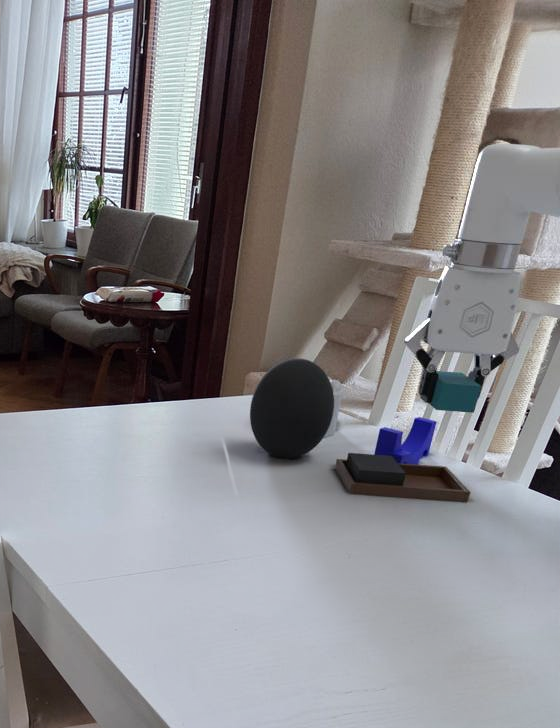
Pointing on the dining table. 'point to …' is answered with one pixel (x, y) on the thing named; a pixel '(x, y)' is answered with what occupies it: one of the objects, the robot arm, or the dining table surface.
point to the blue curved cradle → (407, 442)
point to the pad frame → (411, 484)
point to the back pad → (375, 469)
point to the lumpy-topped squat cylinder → (335, 405)
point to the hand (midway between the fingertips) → (446, 400)
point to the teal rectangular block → (455, 392)
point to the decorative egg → (292, 408)
